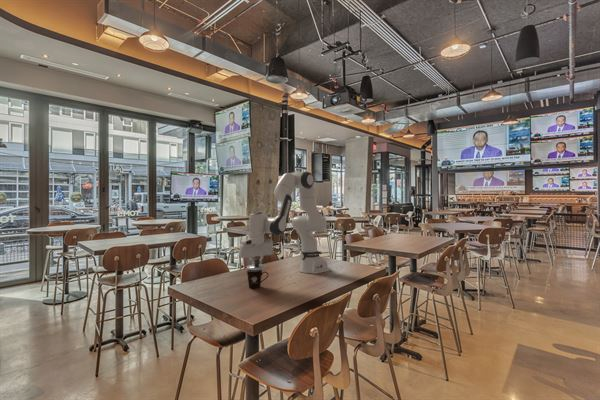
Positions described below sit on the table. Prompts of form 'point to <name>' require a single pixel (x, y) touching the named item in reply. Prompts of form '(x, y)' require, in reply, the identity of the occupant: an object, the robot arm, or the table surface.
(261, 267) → the lid
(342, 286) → the table surface
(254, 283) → the coffee mug
